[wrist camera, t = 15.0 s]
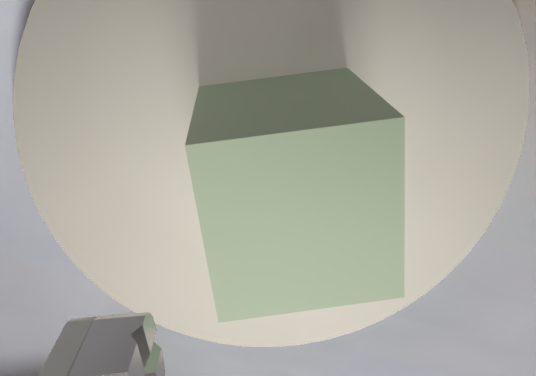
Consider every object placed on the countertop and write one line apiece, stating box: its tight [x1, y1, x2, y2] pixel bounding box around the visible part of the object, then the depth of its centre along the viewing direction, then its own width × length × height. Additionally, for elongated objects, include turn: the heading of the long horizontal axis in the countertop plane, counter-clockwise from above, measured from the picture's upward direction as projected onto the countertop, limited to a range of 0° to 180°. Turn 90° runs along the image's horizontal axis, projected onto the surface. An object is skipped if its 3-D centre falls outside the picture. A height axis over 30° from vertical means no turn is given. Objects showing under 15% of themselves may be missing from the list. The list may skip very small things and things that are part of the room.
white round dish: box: [13, 0, 530, 347], centre depth 18 cm, size 18×18×1 cm
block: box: [185, 68, 405, 323], centre depth 15 cm, size 5×5×6 cm
